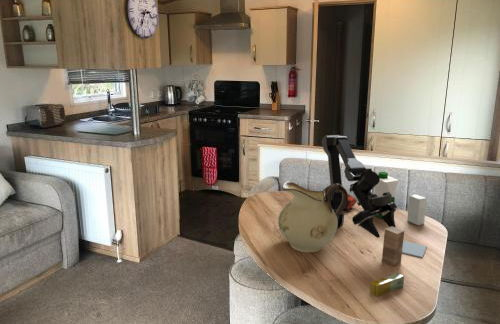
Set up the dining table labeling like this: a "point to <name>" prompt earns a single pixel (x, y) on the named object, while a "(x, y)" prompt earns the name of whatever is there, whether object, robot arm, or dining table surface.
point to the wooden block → (392, 246)
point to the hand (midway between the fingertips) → (387, 234)
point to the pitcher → (310, 216)
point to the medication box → (387, 284)
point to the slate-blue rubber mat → (413, 249)
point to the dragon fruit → (351, 201)
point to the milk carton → (385, 187)
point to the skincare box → (416, 209)
